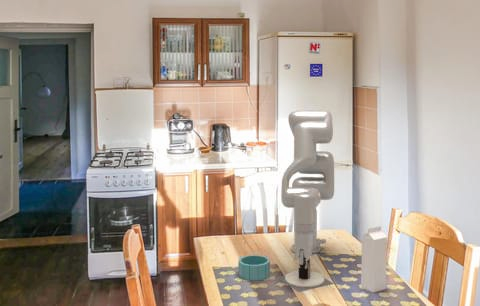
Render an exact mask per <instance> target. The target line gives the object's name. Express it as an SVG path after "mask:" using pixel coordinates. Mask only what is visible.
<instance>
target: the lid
mask: <svg viewBox="0 0 480 306" xmlns="http://www.w3.org/2000/svg"><path fill="white" fill-rule="evenodd" d="M304 263H305V262H304ZM307 268H308V279H300V278H299V269H298V270H294V271H293V270H292V271H289V272H288V273H286V274H285V275H286V276H285V275H284V276H285V281H286V282H287V283H288V284H289V285H292V286H295V287H301V288H312V287H317V286H320V285H322V284H323V283H324V278H325V277H324V275H323V274H322V273H320V272H317V271H314V270H311V262H310V263H308V262H307ZM310 270H311V271H310Z"/></svg>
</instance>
